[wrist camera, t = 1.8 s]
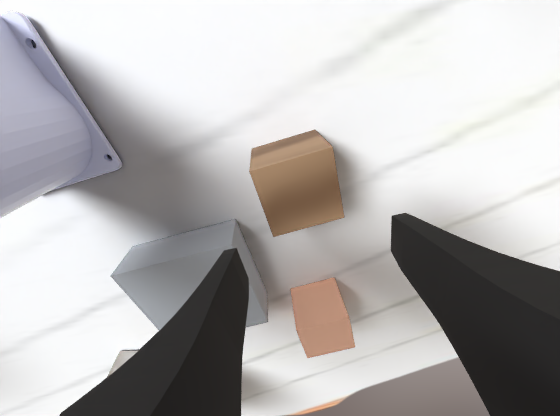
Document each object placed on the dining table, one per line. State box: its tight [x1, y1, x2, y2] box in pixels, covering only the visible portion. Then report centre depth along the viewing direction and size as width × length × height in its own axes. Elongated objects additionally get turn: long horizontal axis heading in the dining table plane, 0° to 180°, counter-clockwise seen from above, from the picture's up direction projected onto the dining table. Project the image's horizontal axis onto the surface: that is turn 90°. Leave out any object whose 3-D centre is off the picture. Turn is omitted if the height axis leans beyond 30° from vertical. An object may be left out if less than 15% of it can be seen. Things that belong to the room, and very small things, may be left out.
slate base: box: [111, 219, 268, 331], centre depth 22 cm, size 10×10×4 cm
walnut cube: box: [249, 130, 344, 237], centre depth 17 cm, size 5×5×5 cm
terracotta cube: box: [290, 278, 355, 358], centre depth 25 cm, size 5×5×5 cm
